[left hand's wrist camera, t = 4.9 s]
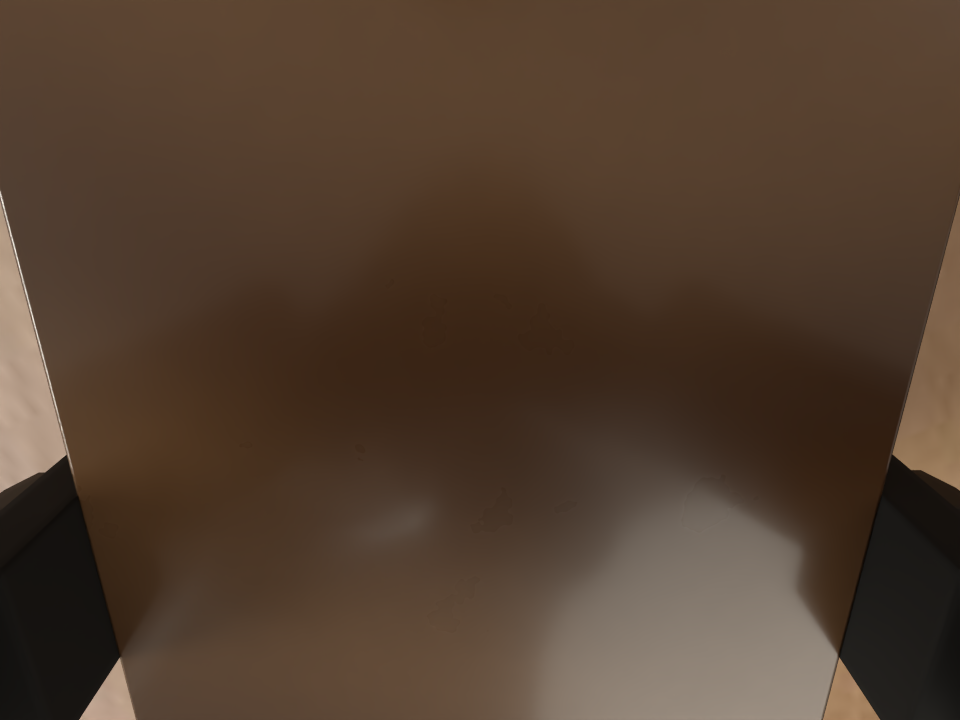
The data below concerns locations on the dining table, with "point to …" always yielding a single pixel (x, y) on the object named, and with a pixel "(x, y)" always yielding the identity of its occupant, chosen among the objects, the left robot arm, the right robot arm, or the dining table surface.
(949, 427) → the dining table surface
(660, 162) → the cabinet
